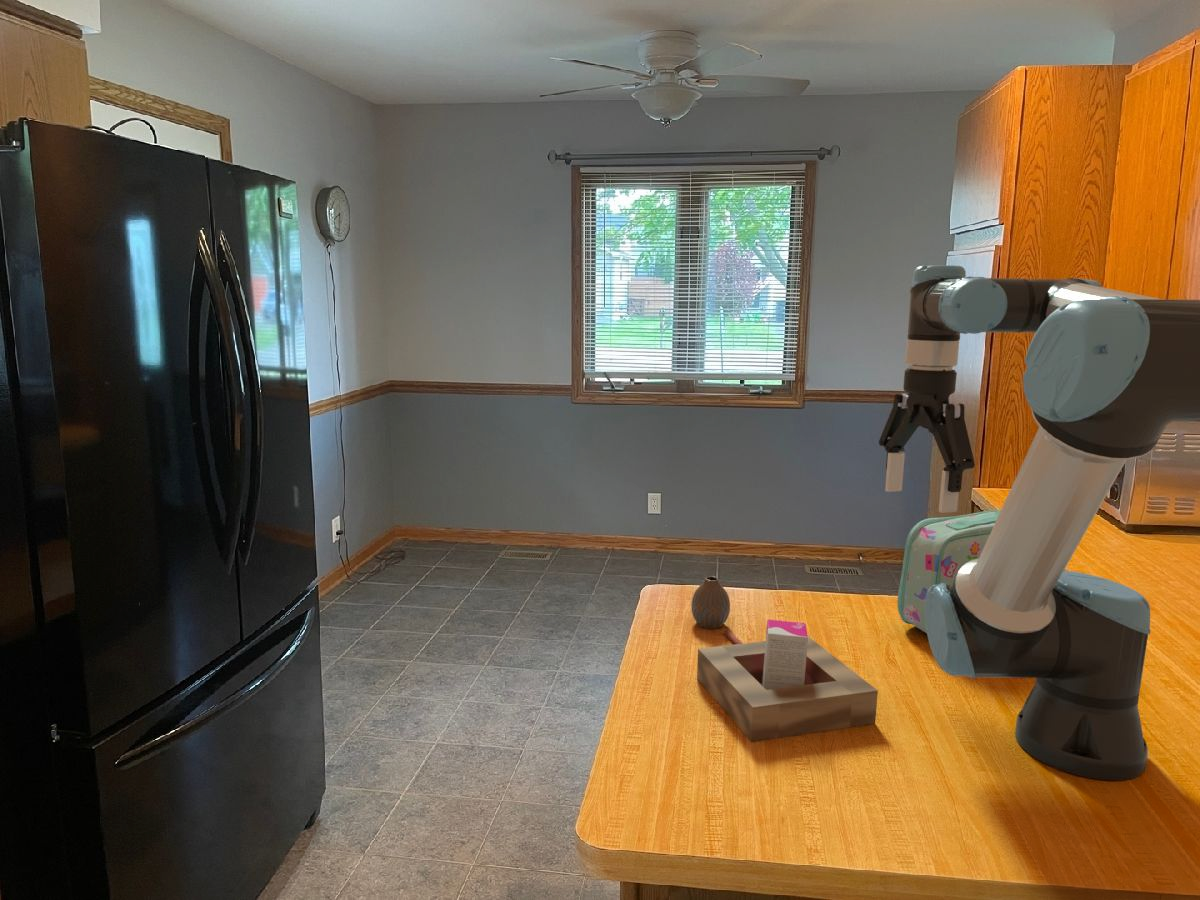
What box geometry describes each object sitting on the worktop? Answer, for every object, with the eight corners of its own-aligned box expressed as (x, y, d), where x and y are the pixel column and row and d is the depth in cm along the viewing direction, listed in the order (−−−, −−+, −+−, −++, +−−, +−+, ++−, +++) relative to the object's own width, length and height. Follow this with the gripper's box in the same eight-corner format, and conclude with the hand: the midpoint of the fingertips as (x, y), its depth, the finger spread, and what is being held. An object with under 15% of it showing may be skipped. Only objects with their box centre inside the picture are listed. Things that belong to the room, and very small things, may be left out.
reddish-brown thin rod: (759, 663, 134) (760, 657, 134) (754, 664, 134) (754, 658, 134) (727, 633, 146) (728, 627, 146) (722, 633, 146) (722, 628, 146)
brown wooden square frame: (875, 723, 116) (877, 690, 115) (751, 741, 111) (752, 707, 110) (806, 665, 134) (808, 636, 133) (696, 678, 129) (698, 648, 128)
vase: (686, 628, 148) (687, 581, 146) (696, 614, 154) (698, 569, 153) (723, 634, 145) (726, 587, 144) (733, 620, 152) (735, 575, 150)
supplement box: (803, 712, 119) (808, 637, 117) (761, 708, 120) (765, 633, 118) (801, 693, 124) (805, 621, 122) (761, 689, 125) (765, 618, 123)
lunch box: (992, 605, 161) (1004, 498, 157) (1040, 624, 152) (1053, 511, 148) (888, 627, 149) (898, 512, 145) (933, 649, 140) (945, 527, 136)
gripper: (1010, 375, 117) (995, 519, 121) (902, 360, 141) (892, 482, 145) (965, 376, 115) (951, 523, 119) (863, 361, 139) (854, 484, 143)
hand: (919, 501), depth 132 cm, fingers open, 13 cm apart
